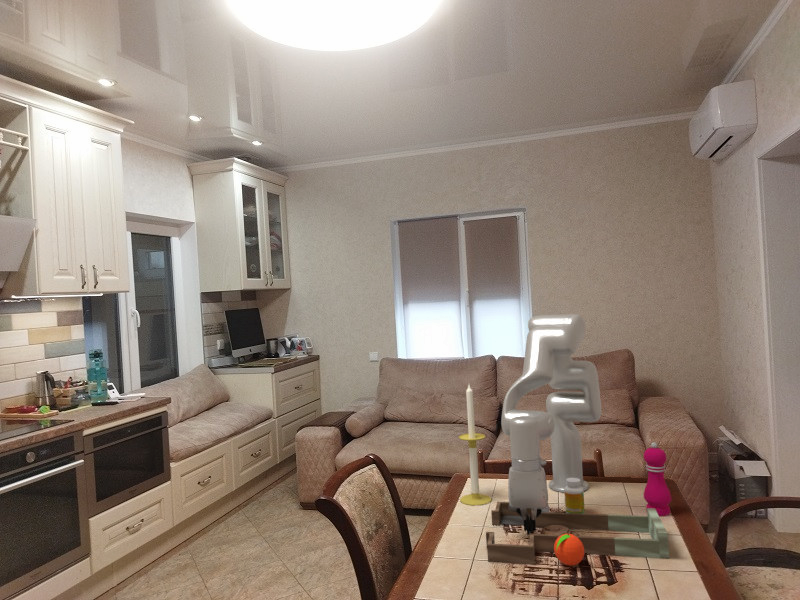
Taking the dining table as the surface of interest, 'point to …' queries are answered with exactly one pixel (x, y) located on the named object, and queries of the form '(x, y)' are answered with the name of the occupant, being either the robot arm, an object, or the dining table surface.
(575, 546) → the clementine
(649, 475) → the pepper mill
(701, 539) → the dining table surface
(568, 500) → the supplement bottle
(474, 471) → the candle
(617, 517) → the channel
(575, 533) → the cookie
